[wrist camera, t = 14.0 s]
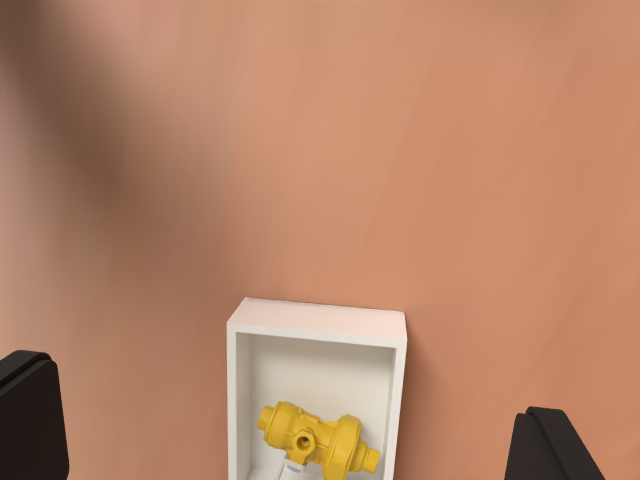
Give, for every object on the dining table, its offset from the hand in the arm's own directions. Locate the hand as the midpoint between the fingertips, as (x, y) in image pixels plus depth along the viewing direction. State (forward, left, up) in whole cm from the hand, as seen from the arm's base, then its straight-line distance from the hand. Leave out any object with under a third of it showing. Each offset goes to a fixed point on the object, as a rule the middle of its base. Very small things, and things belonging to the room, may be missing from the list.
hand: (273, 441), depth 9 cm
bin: (-2, -18, -28) cm, 34 cm away
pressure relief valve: (-2, -24, -25) cm, 35 cm away
